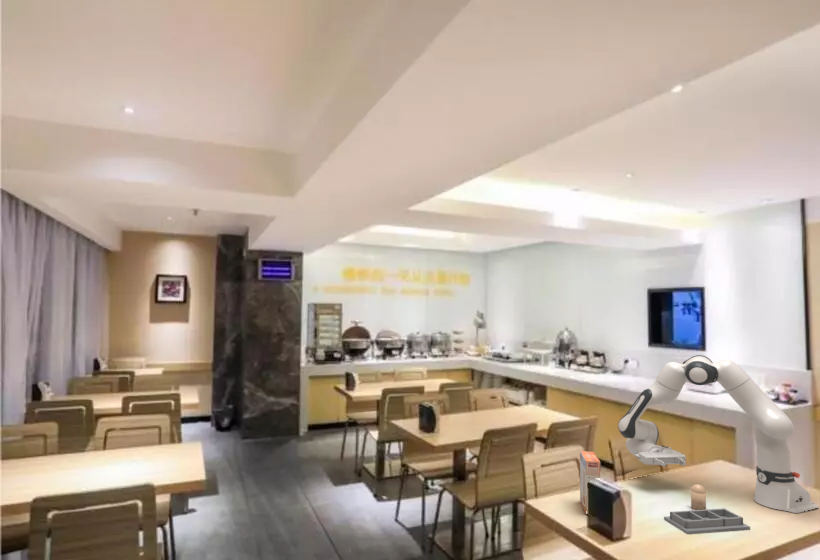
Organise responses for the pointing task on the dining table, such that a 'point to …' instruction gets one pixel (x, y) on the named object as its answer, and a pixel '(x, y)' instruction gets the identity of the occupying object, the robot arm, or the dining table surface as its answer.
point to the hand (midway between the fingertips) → (674, 464)
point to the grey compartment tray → (706, 521)
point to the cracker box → (587, 473)
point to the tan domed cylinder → (698, 497)
